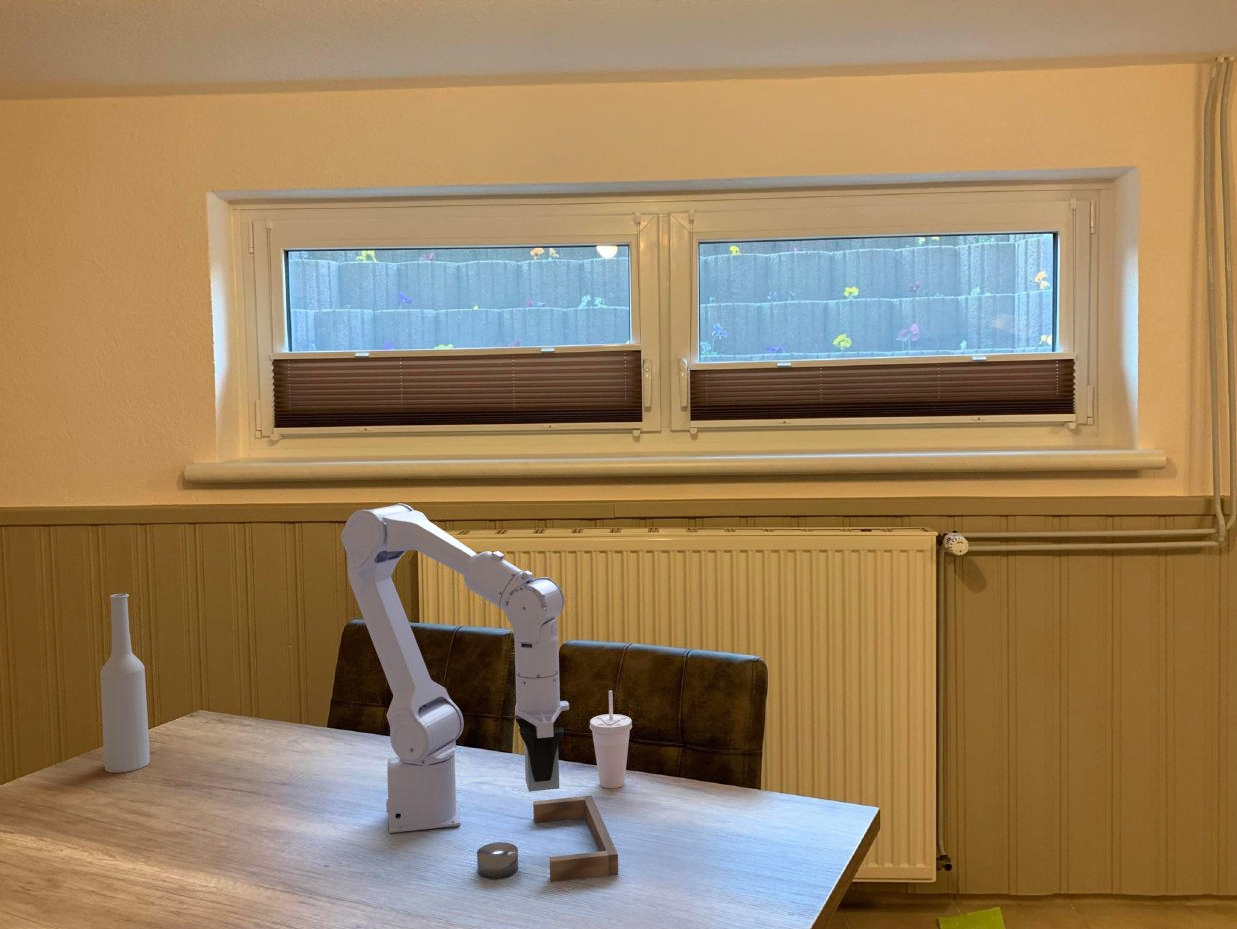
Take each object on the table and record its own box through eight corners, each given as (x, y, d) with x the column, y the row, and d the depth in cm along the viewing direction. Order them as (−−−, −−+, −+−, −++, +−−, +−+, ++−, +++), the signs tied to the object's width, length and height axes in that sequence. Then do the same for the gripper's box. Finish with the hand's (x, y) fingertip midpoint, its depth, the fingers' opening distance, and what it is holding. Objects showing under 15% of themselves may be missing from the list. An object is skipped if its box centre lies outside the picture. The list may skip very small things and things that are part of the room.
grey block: (528, 791, 127) (527, 746, 126) (525, 780, 131) (524, 736, 130) (559, 788, 127) (557, 743, 127) (555, 777, 131) (553, 733, 131)
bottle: (150, 755, 163) (142, 589, 161) (149, 768, 157) (140, 596, 155) (106, 762, 160) (97, 593, 159) (103, 775, 154) (93, 600, 153)
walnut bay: (551, 881, 117) (550, 861, 117) (533, 818, 135) (533, 801, 135) (618, 874, 119) (617, 854, 119) (592, 812, 137) (591, 795, 137)
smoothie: (635, 775, 150) (633, 686, 149) (631, 792, 144) (629, 698, 143) (593, 775, 151) (591, 685, 150) (588, 791, 144) (586, 698, 144)
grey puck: (478, 882, 118) (478, 862, 117) (476, 864, 122) (475, 844, 122) (520, 878, 119) (519, 858, 118) (516, 859, 123) (515, 840, 123)
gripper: (576, 685, 122) (579, 791, 123) (559, 656, 136) (562, 752, 137) (519, 689, 120) (522, 797, 121) (509, 660, 135) (512, 757, 135)
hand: (540, 774), depth 129 cm, fingers closed on grey block, 4 cm apart
